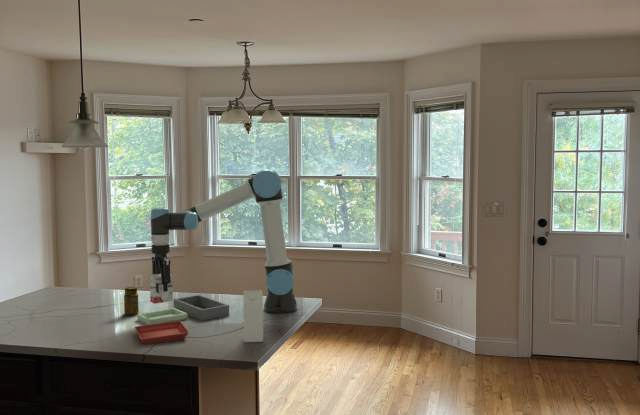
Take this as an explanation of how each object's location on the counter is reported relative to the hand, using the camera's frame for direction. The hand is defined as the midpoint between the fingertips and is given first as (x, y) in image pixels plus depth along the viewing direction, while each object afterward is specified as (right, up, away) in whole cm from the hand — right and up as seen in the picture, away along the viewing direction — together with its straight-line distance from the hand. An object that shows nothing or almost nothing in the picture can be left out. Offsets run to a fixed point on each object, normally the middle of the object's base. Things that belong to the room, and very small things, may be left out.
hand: (161, 297), depth 255 cm
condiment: (-16, -9, +9) cm, 21 cm away
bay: (+14, -9, +14) cm, 21 cm away
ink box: (0, -2, 0) cm, 2 cm away
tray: (0, -10, +1) cm, 10 cm away
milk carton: (+43, -12, -29) cm, 53 cm away
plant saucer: (+6, -12, -24) cm, 28 cm away
